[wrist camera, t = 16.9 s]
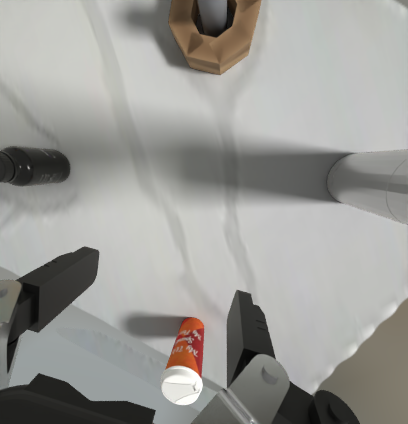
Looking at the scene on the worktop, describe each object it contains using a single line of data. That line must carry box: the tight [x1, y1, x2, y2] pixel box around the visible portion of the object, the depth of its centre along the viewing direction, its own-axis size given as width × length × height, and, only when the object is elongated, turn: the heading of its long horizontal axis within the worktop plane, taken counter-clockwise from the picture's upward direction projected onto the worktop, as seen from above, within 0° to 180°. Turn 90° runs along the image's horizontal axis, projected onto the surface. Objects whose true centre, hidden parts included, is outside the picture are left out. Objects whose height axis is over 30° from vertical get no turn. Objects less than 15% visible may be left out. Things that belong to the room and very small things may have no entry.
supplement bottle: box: [0, 146, 70, 186], centre depth 36 cm, size 7×7×12 cm
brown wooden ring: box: [168, 0, 261, 75], centre depth 31 cm, size 13×13×4 cm
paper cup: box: [161, 317, 204, 405], centre depth 41 cm, size 8×8×14 cm
